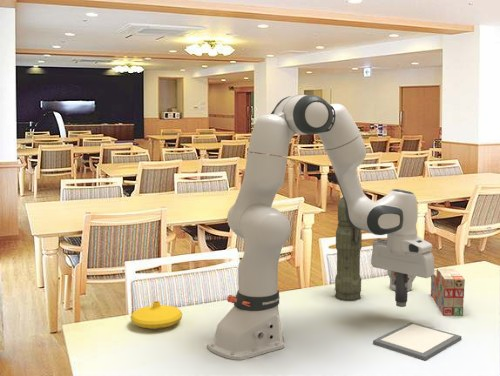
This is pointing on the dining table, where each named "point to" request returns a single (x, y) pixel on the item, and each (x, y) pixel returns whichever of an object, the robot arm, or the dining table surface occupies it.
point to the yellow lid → (156, 316)
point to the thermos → (347, 258)
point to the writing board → (417, 340)
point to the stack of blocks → (448, 291)
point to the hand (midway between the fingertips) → (401, 286)
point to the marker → (401, 289)
